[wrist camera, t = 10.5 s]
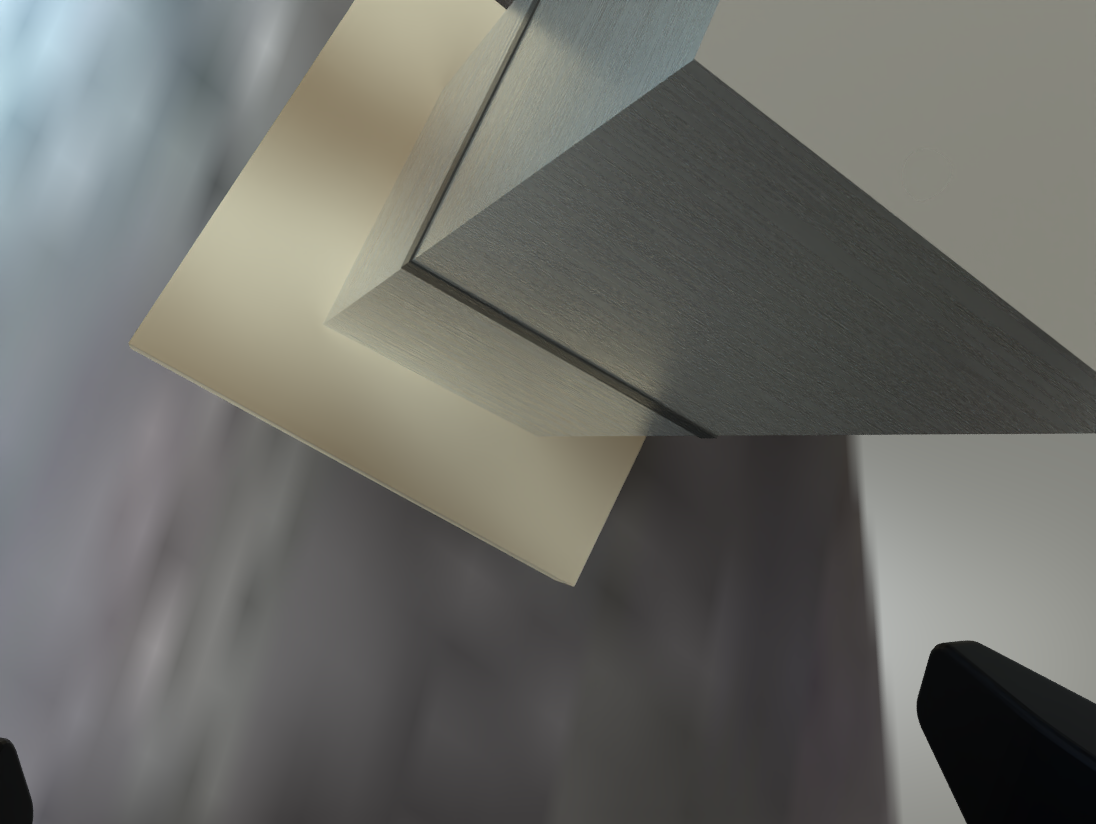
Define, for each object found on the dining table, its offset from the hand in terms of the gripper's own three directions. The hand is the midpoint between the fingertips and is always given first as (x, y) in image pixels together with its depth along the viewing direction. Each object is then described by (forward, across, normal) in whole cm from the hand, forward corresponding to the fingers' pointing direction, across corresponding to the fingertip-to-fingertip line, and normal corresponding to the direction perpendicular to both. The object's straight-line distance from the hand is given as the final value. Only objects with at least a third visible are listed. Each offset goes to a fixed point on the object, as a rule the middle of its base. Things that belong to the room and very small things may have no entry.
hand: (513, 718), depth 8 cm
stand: (+14, 0, 0) cm, 14 cm away
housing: (+11, -1, -2) cm, 11 cm away
